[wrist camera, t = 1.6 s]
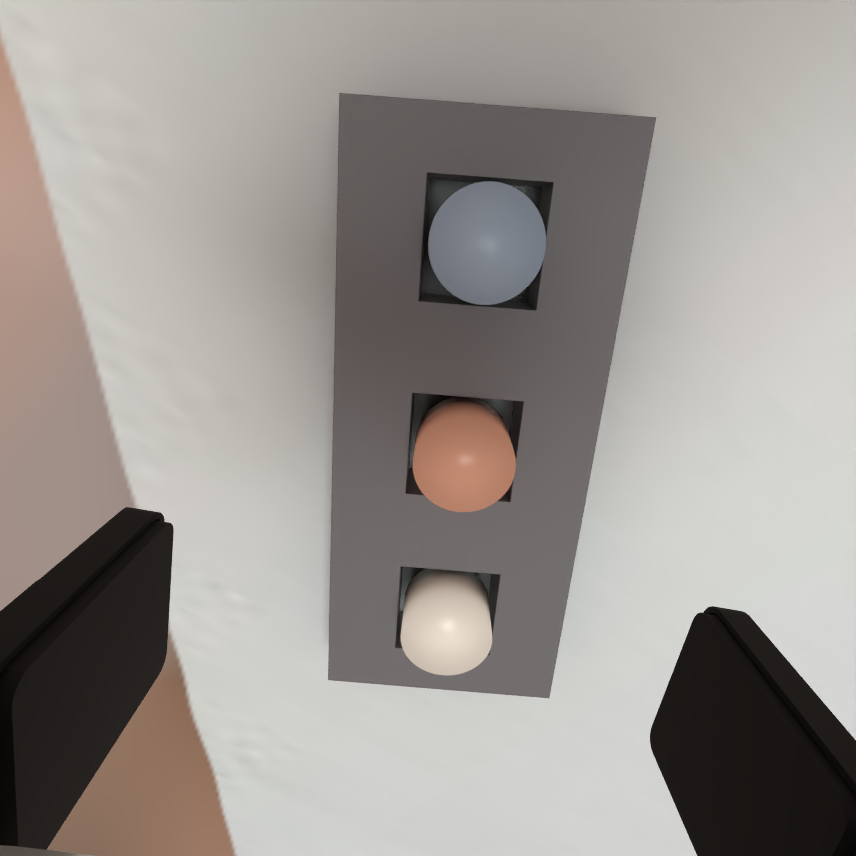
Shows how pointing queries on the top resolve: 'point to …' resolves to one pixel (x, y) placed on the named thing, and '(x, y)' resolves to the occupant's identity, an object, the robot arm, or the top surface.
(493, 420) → the terracotta button
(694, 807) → the robot arm
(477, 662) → the cream button
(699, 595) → the top surface
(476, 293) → the slate blue button
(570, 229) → the button panel
